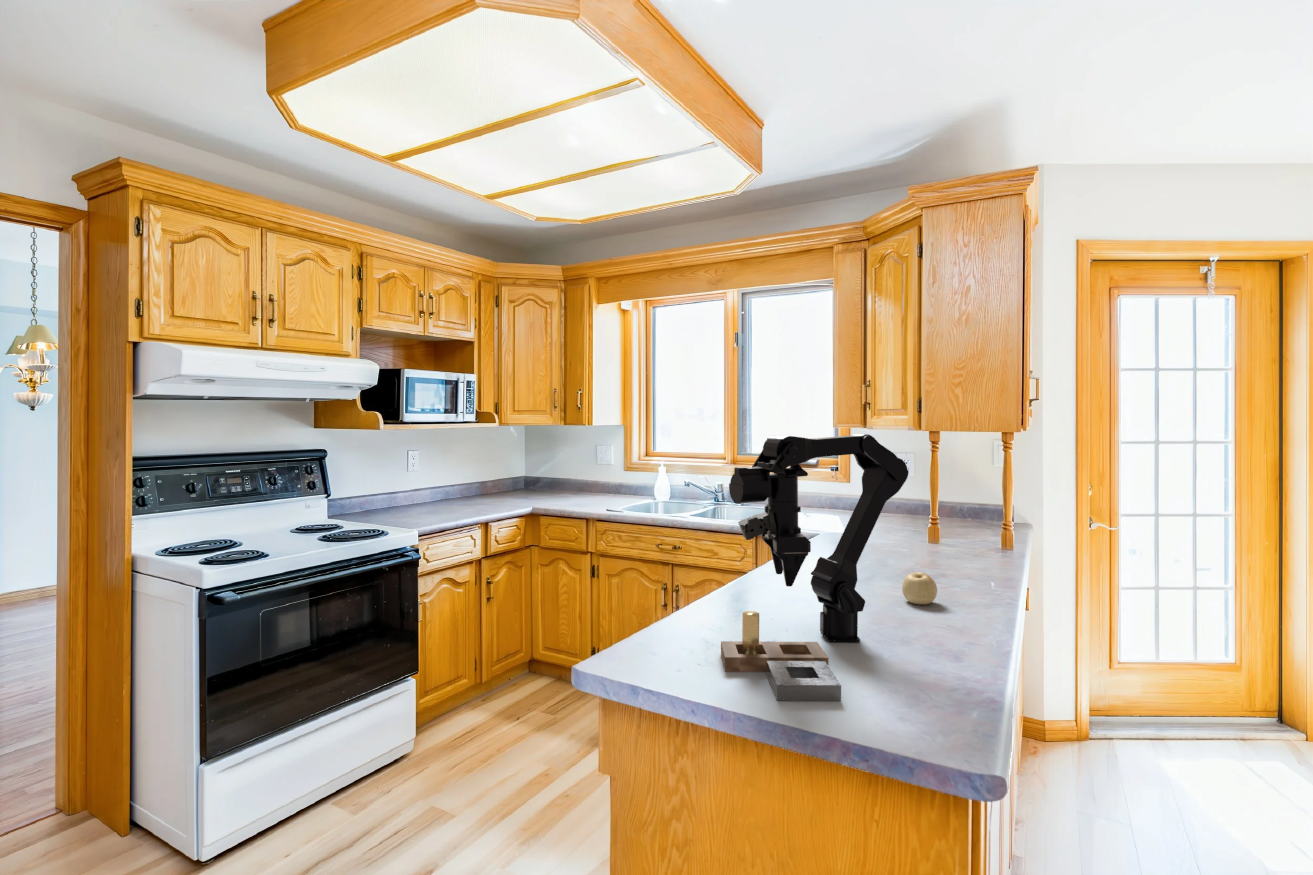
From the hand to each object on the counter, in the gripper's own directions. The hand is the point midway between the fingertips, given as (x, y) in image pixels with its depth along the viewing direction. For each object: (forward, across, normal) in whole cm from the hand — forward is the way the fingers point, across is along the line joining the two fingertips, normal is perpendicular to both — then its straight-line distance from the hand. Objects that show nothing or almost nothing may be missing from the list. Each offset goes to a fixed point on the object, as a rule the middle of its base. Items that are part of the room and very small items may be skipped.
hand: (783, 579), depth 124 cm
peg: (+13, +9, -8) cm, 18 cm away
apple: (+14, -29, +39) cm, 50 cm away
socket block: (+13, +20, -1) cm, 24 cm away
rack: (+13, +9, -4) cm, 16 cm away
